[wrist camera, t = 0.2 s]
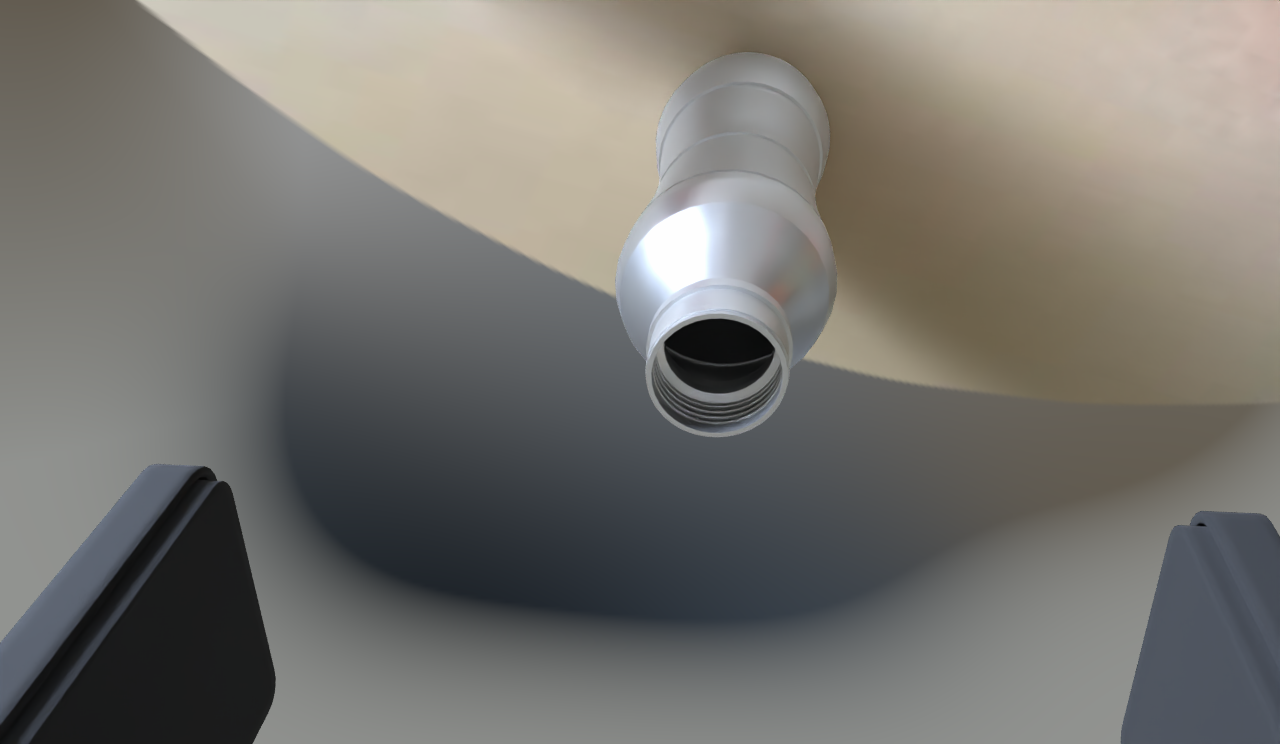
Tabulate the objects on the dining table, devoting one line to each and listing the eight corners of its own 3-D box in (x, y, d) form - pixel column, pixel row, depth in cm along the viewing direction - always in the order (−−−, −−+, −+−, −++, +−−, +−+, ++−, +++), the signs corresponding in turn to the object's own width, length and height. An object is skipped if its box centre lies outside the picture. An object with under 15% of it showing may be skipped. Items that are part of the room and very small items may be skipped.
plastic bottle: (863, 104, 46) (907, 355, 29) (754, 231, 49) (735, 526, 32) (732, 2, 45) (696, 202, 27) (629, 139, 48) (538, 395, 31)
